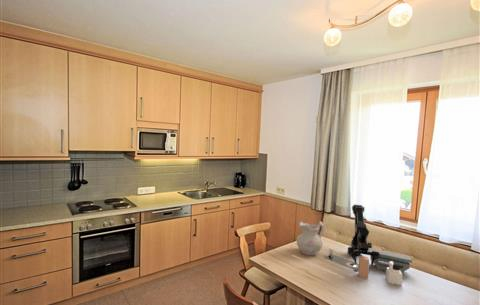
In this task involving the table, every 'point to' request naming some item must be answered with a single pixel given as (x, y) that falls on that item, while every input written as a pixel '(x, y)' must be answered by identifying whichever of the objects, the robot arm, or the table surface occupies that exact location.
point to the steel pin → (330, 252)
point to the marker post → (363, 267)
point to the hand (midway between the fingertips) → (363, 265)
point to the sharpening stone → (390, 256)
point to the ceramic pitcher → (310, 238)
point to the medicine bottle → (394, 273)
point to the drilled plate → (344, 262)
